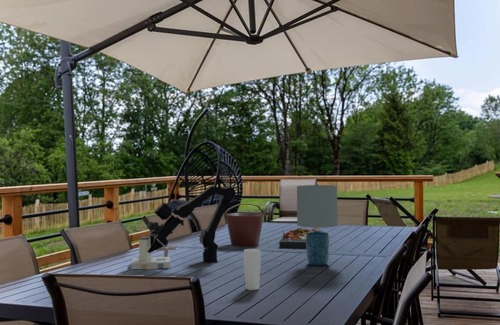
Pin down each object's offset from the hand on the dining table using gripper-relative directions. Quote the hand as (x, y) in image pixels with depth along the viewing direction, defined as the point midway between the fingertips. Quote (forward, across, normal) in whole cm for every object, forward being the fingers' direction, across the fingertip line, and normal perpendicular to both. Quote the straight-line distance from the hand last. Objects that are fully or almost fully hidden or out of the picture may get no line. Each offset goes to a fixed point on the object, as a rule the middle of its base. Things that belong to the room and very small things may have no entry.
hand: (146, 251), depth 233 cm
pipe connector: (-3, -18, +14) cm, 23 cm away
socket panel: (+4, +1, +7) cm, 8 cm away
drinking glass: (-16, +60, +28) cm, 68 cm away
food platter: (-65, -36, +79) cm, 108 cm away
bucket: (-40, -41, +52) cm, 77 cm away
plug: (+6, 0, +4) cm, 7 cm away
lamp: (-48, +28, +60) cm, 82 cm away
